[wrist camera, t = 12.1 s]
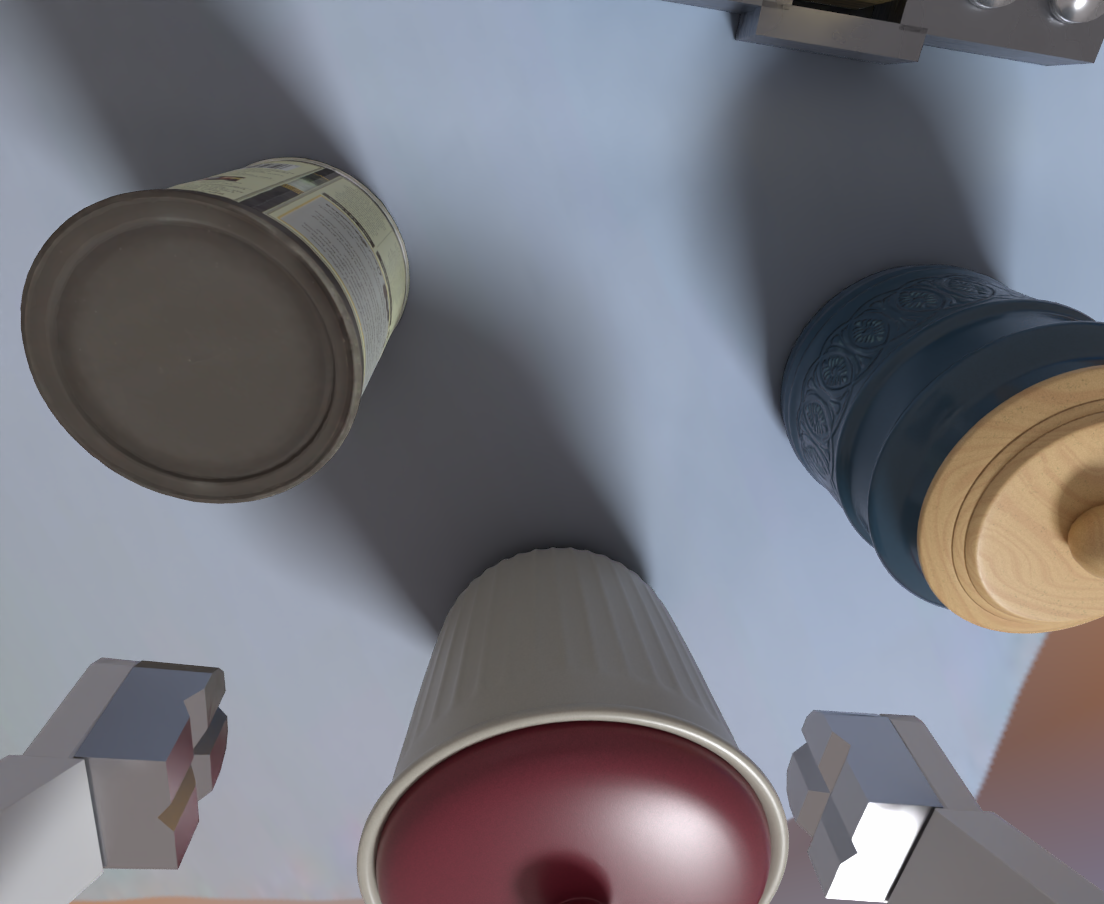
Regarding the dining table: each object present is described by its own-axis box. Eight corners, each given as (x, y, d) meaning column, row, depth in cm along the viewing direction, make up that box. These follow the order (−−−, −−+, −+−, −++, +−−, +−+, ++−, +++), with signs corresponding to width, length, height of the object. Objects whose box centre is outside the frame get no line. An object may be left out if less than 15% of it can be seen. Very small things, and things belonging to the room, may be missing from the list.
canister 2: (1053, 388, 41) (1400, 573, 25) (851, 526, 44) (1045, 768, 28) (943, 202, 36) (1283, 283, 20) (726, 371, 39) (874, 555, 23)
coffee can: (296, 407, 39) (194, 555, 26) (148, 240, 35) (-58, 320, 22) (455, 298, 37) (426, 402, 24) (316, 107, 33) (195, 112, 20)
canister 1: (446, 752, 50) (408, 1151, 31) (370, 527, 42) (256, 876, 23) (711, 706, 50) (837, 1083, 31) (683, 469, 42) (828, 777, 23)
